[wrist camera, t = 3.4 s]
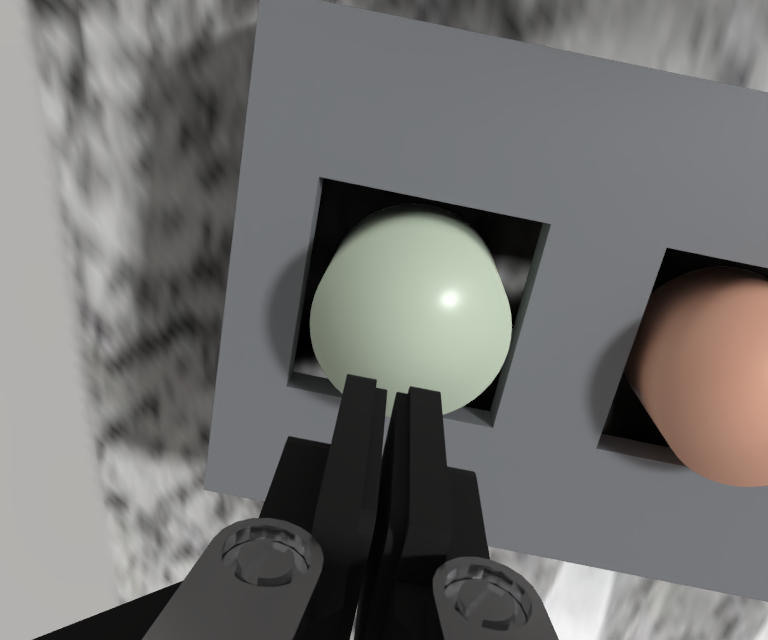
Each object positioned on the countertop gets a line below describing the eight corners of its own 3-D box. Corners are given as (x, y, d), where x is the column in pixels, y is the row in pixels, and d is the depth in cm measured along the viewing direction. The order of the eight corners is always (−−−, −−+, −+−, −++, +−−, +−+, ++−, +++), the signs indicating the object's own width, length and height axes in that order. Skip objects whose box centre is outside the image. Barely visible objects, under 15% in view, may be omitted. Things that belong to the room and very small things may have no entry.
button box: (1199, 193, 20) (1429, 228, 16) (971, 557, 25) (1095, 666, 21) (299, 7, 20) (260, -12, 15) (245, 411, 25) (203, 489, 20)
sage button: (516, 222, 19) (535, 253, 16) (475, 379, 21) (484, 436, 17) (344, 187, 19) (326, 211, 16) (317, 347, 21) (296, 398, 17)
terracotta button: (825, 285, 19) (907, 329, 16) (758, 435, 21) (820, 503, 18) (654, 250, 19) (701, 287, 16) (601, 404, 21) (633, 466, 18)
